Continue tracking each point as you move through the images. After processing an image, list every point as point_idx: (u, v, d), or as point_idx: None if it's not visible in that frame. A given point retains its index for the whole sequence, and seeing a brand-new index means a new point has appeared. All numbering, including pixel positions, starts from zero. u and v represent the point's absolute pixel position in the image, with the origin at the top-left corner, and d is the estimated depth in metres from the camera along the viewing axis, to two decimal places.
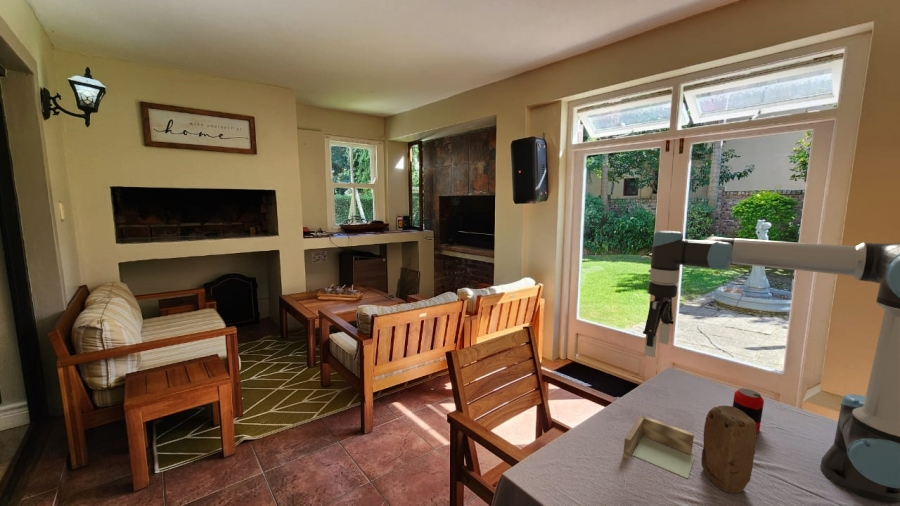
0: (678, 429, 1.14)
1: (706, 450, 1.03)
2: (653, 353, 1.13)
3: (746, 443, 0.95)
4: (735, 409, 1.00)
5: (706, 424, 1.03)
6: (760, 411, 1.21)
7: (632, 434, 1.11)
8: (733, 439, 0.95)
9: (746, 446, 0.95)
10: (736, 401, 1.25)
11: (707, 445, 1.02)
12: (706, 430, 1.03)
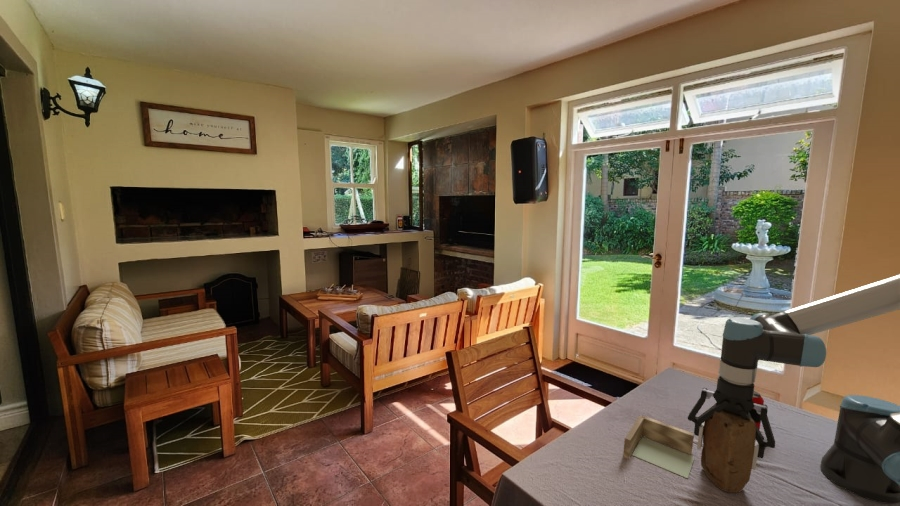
0: (678, 429, 1.14)
1: (705, 450, 1.03)
2: (697, 444, 1.04)
3: (745, 442, 0.95)
4: None
5: (706, 424, 1.03)
6: None
7: (632, 434, 1.11)
8: (732, 438, 0.95)
9: (746, 446, 0.95)
10: None
11: (707, 444, 1.02)
12: (705, 430, 1.03)
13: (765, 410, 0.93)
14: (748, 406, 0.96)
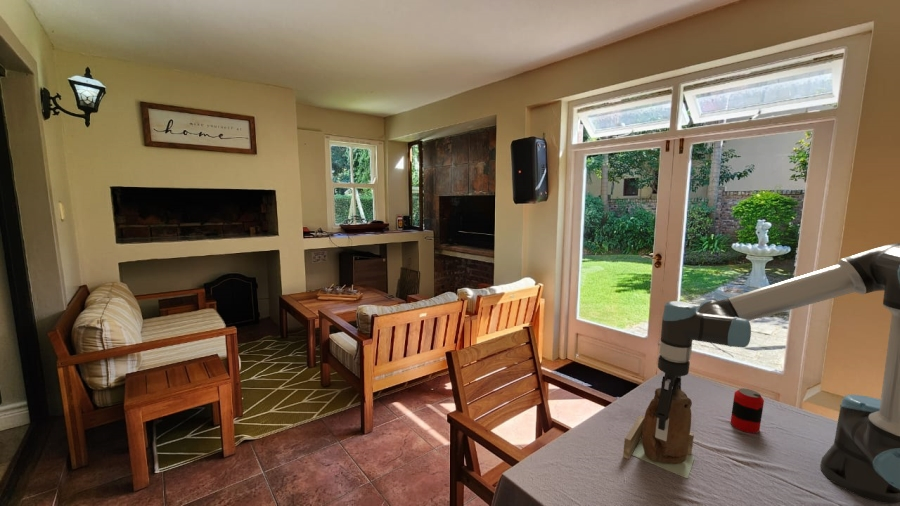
0: None
1: (665, 441, 1.06)
2: (665, 437, 1.03)
3: None
4: None
5: None
6: (760, 411, 1.21)
7: (632, 434, 1.11)
8: None
9: None
10: (736, 401, 1.25)
11: (667, 436, 1.06)
12: None
13: None
14: None
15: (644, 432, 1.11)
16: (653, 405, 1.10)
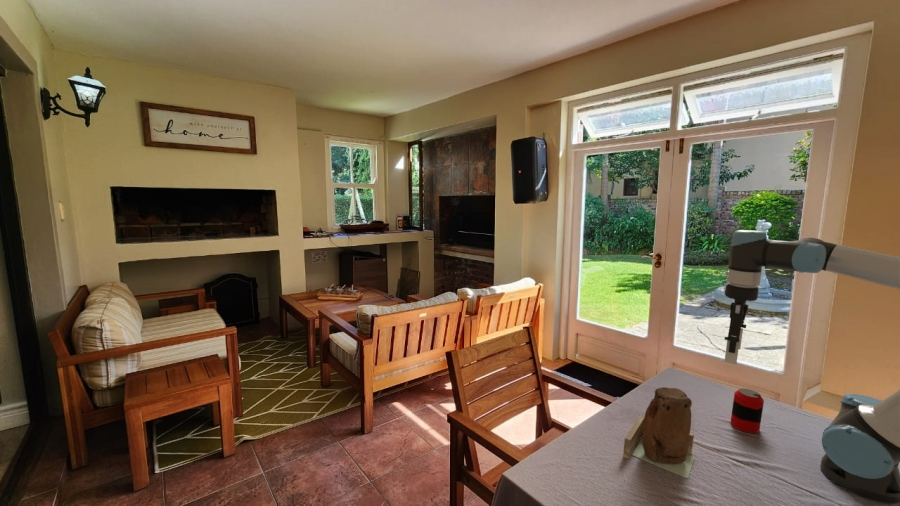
0: None
1: (665, 441, 1.06)
2: (735, 360, 1.06)
3: None
4: (662, 389, 1.09)
5: (664, 419, 1.05)
6: (760, 411, 1.21)
7: (632, 434, 1.11)
8: None
9: None
10: (736, 401, 1.25)
11: (667, 436, 1.06)
12: (664, 424, 1.05)
13: None
14: None
15: (644, 432, 1.11)
16: (653, 405, 1.10)
